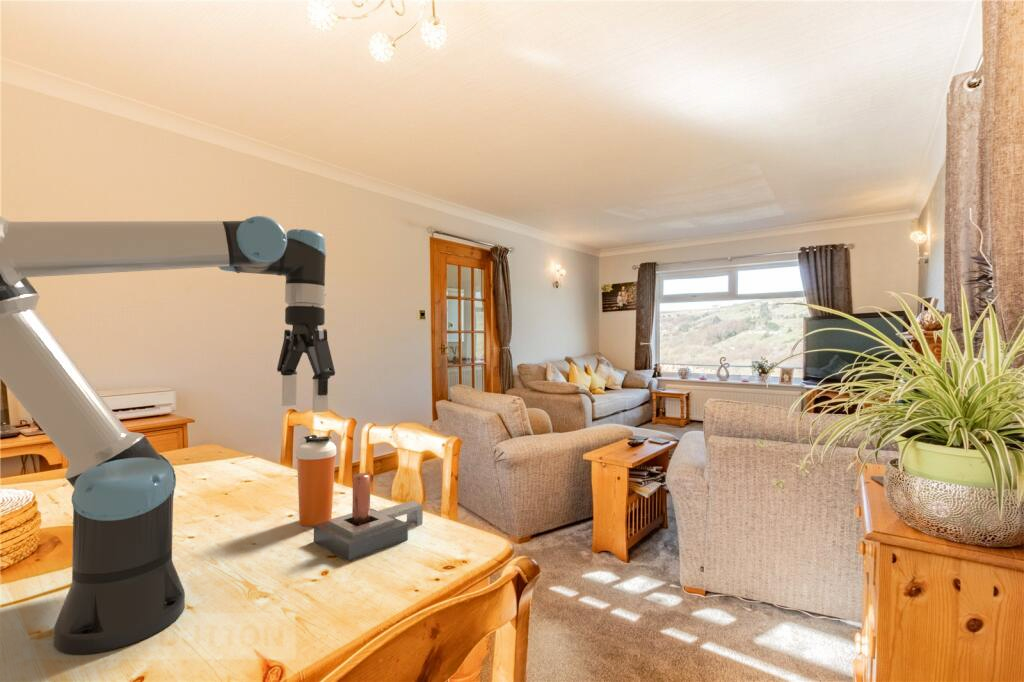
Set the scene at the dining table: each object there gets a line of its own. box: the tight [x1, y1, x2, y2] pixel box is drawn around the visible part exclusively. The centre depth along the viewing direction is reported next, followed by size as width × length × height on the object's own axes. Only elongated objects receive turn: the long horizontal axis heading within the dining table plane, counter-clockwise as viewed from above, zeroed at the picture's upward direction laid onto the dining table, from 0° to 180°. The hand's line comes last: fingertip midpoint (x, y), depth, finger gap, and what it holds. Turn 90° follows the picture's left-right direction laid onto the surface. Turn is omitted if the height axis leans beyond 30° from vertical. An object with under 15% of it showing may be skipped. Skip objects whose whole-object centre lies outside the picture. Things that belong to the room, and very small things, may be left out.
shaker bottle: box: [295, 434, 337, 527], centre depth 113 cm, size 9×9×20 cm
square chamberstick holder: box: [313, 507, 409, 563], centre depth 102 cm, size 14×14×4 cm
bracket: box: [327, 500, 424, 538], centre depth 105 cm, size 20×10×4 cm, turn 139°
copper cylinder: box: [351, 472, 371, 526], centre depth 102 cm, size 4×4×14 cm
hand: (303, 408), depth 98 cm, fingers open, 13 cm apart
